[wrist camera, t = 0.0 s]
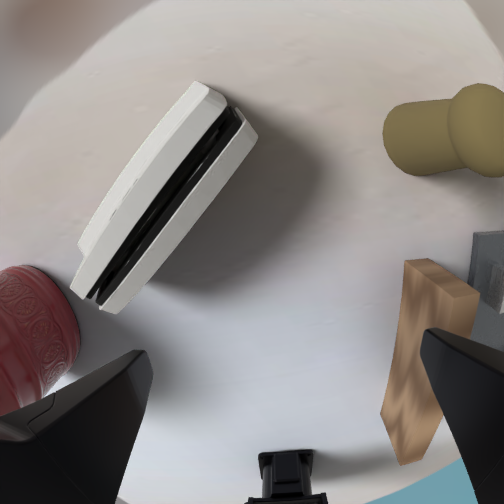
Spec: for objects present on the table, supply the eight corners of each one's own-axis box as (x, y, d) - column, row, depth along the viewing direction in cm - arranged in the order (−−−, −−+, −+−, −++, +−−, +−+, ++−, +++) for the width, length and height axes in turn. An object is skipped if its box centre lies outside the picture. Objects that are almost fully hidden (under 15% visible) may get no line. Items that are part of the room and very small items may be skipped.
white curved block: (198, 78, 20) (209, 59, 11) (244, 115, 22) (284, 126, 13) (80, 238, 23) (41, 309, 15) (123, 265, 26) (103, 344, 17)
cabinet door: (408, 406, 27) (431, 456, 20) (379, 413, 28) (400, 465, 20) (437, 256, 23) (491, 290, 15) (404, 260, 23) (453, 298, 15)
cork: (407, 189, 21) (497, 210, 10) (368, 123, 20) (446, 93, 9) (455, 155, 20) (548, 158, 9) (420, 91, 19) (506, 58, 8)
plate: (494, 388, 27) (506, 402, 23) (433, 411, 27) (443, 429, 24) (536, 228, 21) (556, 235, 17) (473, 232, 22) (496, 241, 18)
